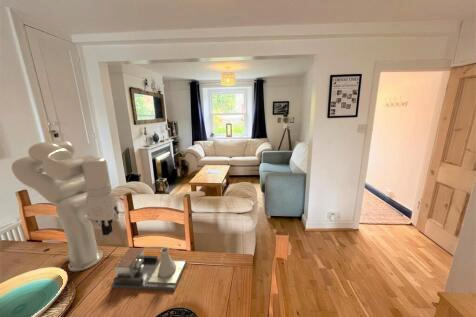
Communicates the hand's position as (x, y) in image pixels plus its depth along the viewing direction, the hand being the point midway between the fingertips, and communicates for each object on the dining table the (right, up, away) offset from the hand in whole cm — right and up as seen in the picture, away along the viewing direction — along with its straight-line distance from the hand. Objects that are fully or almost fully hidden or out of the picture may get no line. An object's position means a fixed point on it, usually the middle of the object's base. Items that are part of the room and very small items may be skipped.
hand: (107, 233), depth 77 cm
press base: (+16, -18, +3) cm, 25 cm away
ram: (+9, -17, +3) cm, 19 cm away
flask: (+23, -17, +2) cm, 29 cm away
